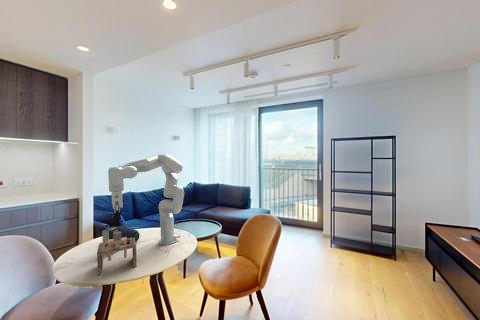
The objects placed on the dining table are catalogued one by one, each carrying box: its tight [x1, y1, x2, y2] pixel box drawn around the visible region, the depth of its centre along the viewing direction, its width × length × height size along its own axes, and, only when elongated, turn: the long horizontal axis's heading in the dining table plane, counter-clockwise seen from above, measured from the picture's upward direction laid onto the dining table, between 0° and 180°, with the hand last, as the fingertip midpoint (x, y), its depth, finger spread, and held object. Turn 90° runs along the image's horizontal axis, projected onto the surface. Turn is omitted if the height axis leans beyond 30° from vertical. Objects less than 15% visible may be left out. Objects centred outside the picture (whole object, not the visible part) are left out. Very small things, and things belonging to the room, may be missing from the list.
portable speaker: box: [118, 225, 140, 244], centre depth 167 cm, size 25×10×10 cm, turn 60°
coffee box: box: [101, 226, 120, 256], centre depth 147 cm, size 9×6×16 cm
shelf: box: [96, 237, 137, 277], centre depth 129 cm, size 19×14×14 cm
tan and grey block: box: [107, 232, 128, 262], centre depth 129 cm, size 9×4×15 cm, turn 118°
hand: (117, 217), depth 129 cm, fingers open, 9 cm apart
